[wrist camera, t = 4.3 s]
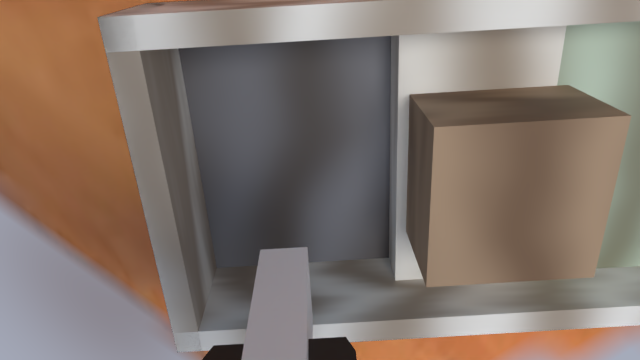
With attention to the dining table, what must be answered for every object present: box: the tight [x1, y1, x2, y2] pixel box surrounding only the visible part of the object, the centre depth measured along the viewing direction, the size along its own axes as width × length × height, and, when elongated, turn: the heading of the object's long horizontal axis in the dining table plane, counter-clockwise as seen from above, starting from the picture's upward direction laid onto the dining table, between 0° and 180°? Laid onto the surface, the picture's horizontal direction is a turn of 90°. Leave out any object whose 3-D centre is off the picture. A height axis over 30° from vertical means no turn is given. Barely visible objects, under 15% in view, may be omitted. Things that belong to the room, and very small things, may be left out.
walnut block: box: [406, 85, 631, 287], centre depth 20 cm, size 7×7×4 cm
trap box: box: [97, 0, 640, 352], centre depth 22 cm, size 36×15×6 cm, turn 93°
